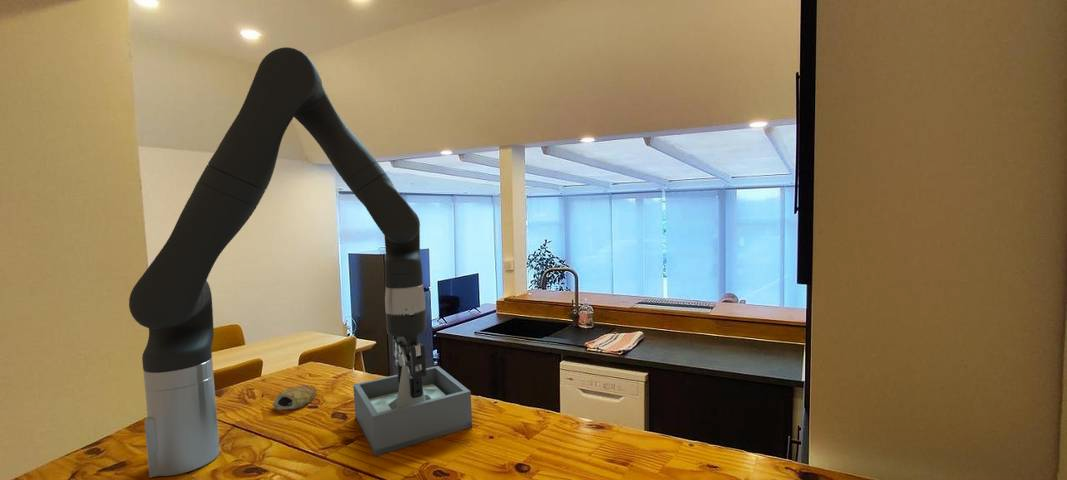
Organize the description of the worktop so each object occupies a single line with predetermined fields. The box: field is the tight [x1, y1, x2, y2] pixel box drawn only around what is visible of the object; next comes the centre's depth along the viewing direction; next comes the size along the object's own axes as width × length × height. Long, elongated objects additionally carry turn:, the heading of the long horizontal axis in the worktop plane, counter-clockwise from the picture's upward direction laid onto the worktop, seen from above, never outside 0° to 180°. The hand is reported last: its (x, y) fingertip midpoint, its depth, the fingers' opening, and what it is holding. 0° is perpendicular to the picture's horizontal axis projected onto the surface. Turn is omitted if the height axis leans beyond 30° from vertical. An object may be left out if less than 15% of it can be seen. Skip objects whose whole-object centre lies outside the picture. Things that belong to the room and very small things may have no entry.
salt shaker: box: [396, 355, 426, 408], centre depth 89 cm, size 6×6×13 cm
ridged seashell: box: [272, 384, 317, 411], centre depth 102 cm, size 9×7×4 cm
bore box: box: [352, 365, 473, 457], centre depth 90 cm, size 18×18×7 cm
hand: (410, 389), depth 89 cm, fingers open, 8 cm apart
